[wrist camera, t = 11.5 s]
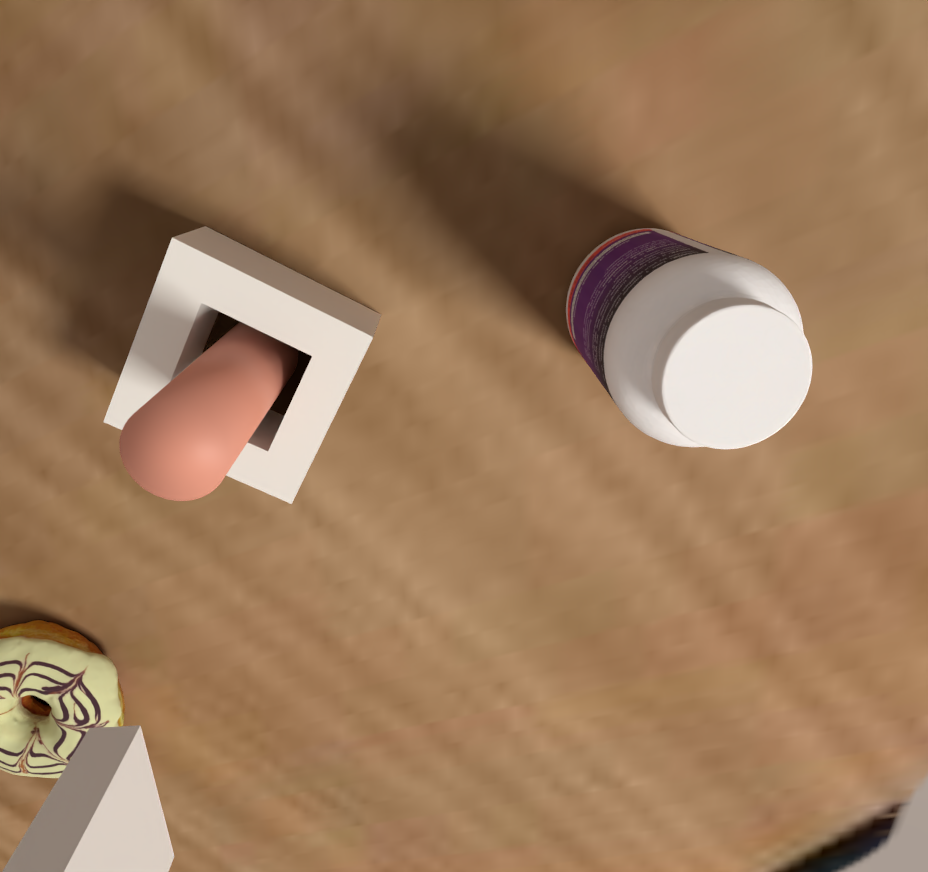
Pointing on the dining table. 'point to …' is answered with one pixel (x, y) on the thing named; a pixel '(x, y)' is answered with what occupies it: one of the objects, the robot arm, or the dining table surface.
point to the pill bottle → (689, 339)
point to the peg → (206, 415)
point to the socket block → (266, 309)
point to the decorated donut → (52, 696)
